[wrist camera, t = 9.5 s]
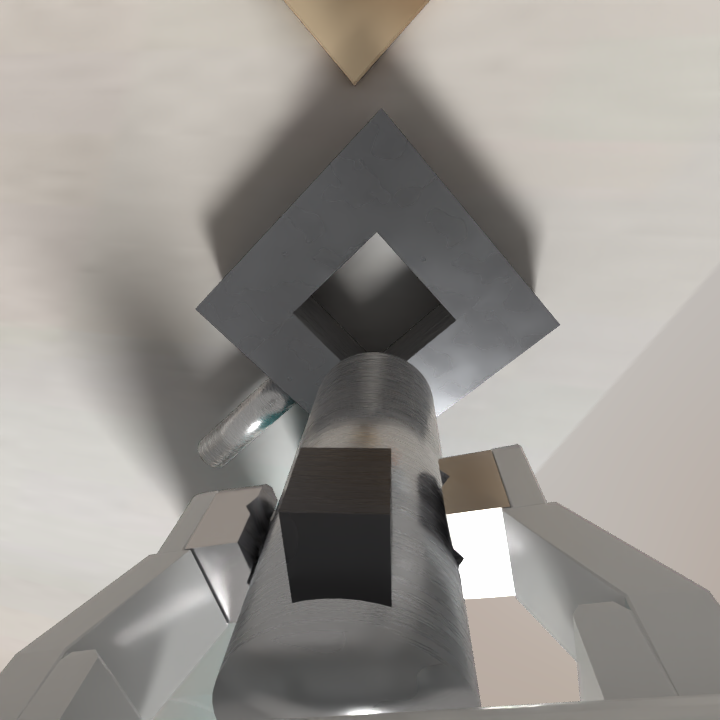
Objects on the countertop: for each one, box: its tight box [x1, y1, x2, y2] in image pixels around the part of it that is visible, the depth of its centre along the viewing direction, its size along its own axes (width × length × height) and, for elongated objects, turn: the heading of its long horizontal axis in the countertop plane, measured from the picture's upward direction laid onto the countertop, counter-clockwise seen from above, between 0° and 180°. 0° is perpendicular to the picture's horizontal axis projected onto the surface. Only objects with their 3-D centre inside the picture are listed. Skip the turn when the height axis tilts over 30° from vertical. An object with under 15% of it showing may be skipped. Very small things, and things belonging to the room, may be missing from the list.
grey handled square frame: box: [196, 108, 560, 468], centre depth 23 cm, size 19×12×4 cm, turn 134°
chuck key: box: [212, 352, 481, 720], centre depth 9 cm, size 6×3×8 cm, turn 2°
